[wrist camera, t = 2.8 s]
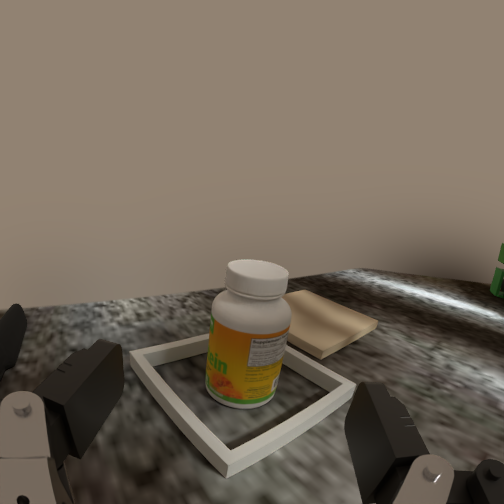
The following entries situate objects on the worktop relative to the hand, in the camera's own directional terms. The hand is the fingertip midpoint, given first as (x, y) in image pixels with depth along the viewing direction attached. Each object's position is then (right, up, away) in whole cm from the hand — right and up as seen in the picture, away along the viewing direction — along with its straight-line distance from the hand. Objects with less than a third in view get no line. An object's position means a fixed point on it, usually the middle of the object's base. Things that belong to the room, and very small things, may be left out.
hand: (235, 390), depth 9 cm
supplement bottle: (0, -6, +13) cm, 14 cm away
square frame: (0, -6, +13) cm, 14 cm away
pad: (+7, -4, +26) cm, 28 cm away
